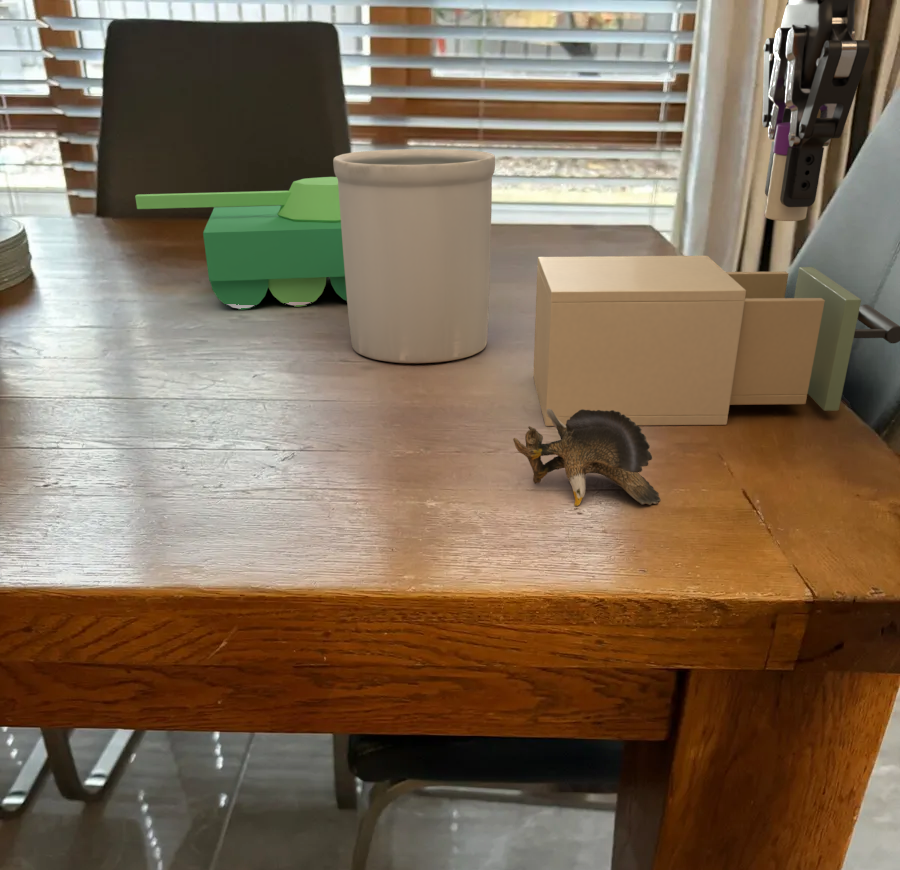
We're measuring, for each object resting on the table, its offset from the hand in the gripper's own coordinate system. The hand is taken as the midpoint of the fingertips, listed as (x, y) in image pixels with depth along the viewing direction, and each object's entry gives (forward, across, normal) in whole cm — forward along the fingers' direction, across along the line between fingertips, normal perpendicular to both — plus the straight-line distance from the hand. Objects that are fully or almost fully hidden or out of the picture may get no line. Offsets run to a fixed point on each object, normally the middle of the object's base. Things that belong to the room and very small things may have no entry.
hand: (788, 200), depth 69 cm
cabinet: (+17, +8, +9) cm, 21 cm away
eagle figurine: (+17, -12, +15) cm, 26 cm away
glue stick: (+1, 0, 0) cm, 1 cm away
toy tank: (+17, +48, +41) cm, 66 cm away
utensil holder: (+17, +25, +27) cm, 40 cm away
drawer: (+16, +7, -3) cm, 18 cm away
